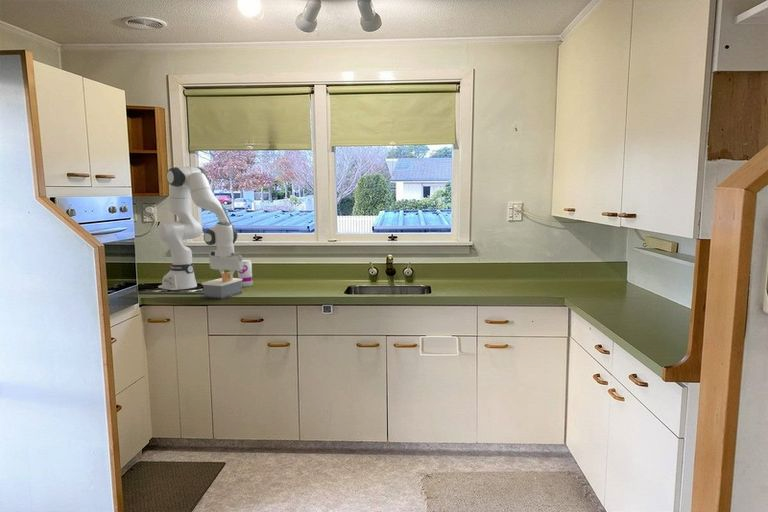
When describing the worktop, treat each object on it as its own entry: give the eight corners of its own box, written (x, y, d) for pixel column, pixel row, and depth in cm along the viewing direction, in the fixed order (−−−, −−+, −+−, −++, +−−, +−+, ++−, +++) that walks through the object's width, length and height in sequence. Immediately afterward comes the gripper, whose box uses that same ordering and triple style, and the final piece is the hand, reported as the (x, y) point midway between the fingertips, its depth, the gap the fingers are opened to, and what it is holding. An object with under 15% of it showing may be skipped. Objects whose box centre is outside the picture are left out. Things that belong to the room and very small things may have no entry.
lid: (201, 286, 263) (200, 274, 262) (224, 280, 278) (223, 269, 278) (221, 288, 258) (220, 275, 257) (242, 282, 273) (241, 270, 272)
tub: (203, 297, 264) (203, 284, 263) (224, 291, 279) (224, 279, 278) (221, 299, 259) (220, 285, 258) (241, 293, 274) (241, 280, 273)
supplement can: (248, 287, 290) (247, 261, 288) (235, 286, 292) (234, 261, 290) (255, 284, 298) (253, 259, 296) (242, 284, 300) (241, 259, 298)
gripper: (245, 252, 263) (246, 278, 265) (215, 251, 271) (216, 276, 273) (237, 254, 257) (238, 280, 259) (206, 252, 265) (208, 278, 267)
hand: (227, 278), depth 266 cm, fingers open, 3 cm apart
